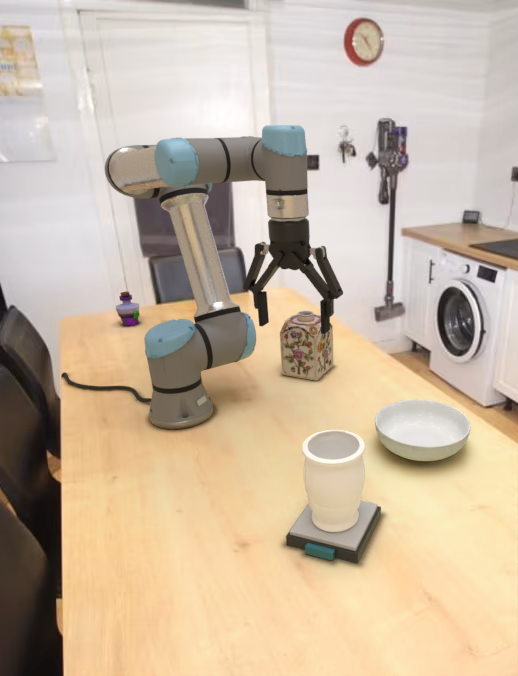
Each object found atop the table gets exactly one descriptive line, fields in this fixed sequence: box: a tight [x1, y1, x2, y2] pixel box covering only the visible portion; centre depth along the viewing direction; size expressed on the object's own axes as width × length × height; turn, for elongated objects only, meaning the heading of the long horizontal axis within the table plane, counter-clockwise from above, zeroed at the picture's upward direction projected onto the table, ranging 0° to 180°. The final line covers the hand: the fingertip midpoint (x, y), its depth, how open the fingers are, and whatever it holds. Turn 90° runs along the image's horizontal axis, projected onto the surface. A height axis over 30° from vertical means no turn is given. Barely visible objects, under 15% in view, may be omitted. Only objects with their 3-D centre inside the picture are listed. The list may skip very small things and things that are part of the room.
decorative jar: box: [279, 310, 334, 382], centre depth 155 cm, size 12×12×18 cm
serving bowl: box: [374, 398, 472, 462], centre depth 120 cm, size 21×21×7 cm
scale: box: [285, 500, 382, 564], centre depth 95 cm, size 13×14×3 cm
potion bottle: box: [115, 291, 141, 328], centre depth 196 cm, size 9×9×12 cm
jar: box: [301, 429, 366, 532], centre depth 92 cm, size 11×10×15 cm
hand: (294, 328), depth 108 cm, fingers open, 13 cm apart
